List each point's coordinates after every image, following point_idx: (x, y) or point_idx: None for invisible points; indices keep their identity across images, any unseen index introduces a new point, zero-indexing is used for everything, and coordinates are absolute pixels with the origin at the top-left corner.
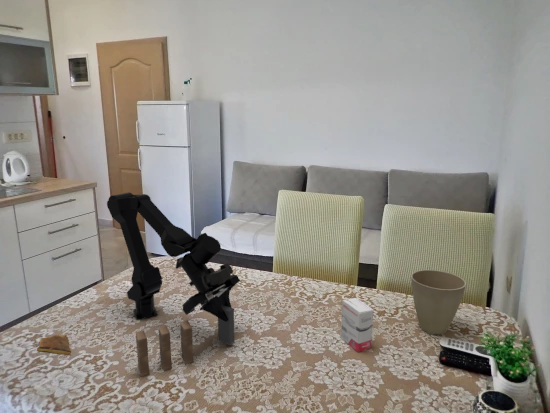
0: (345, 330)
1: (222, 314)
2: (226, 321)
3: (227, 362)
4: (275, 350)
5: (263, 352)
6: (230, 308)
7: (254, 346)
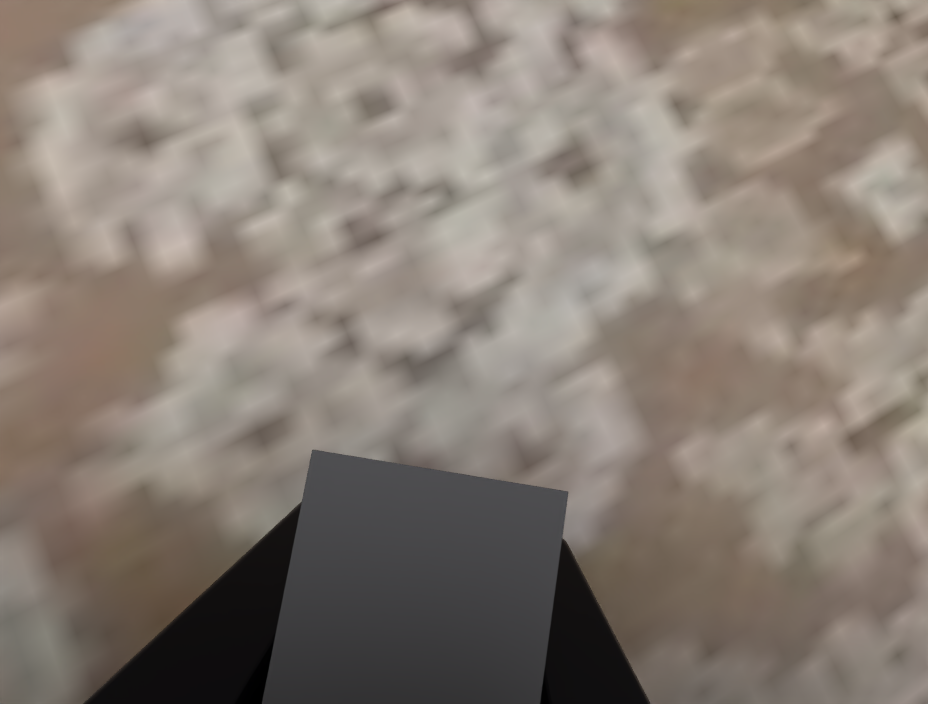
0: None
1: (646, 700)
2: None
3: (753, 397)
4: (305, 3)
5: (395, 106)
6: (353, 564)
7: (320, 250)
